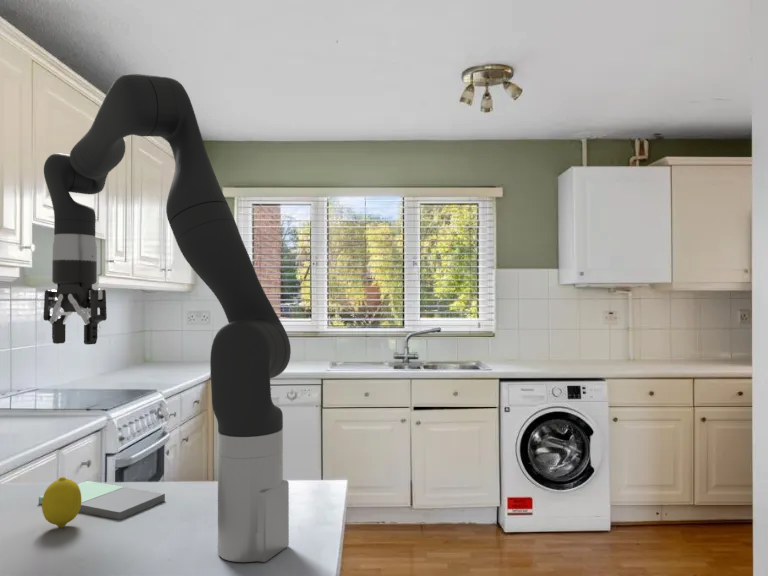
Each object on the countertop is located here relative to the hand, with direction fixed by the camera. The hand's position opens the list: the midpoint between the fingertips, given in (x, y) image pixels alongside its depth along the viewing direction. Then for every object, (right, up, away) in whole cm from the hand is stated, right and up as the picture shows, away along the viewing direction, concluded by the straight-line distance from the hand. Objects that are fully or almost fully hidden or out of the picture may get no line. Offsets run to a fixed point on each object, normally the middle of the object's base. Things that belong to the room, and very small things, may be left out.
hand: (74, 343), depth 110 cm
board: (+8, -28, -7) cm, 30 cm away
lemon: (+8, -28, -18) cm, 34 cm away
